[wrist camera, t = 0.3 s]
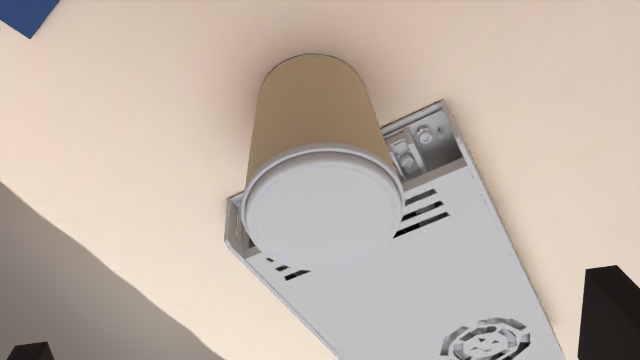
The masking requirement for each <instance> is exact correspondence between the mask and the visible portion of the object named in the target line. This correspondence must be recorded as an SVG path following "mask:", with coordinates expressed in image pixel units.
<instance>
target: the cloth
mask: <svg viewBox="0 0 640 360" xmlns="http://www.w3.org/2000/svg"><path fill="white" fill-rule="evenodd" d="M58 2H59V0H0V20H1V21H3V22H4V23H6V24H7V25H9V26H11V27H12V28H14V29H15V30H17V31H18V32H20V33H21V34H23V35H24V36H26V37H27V38H29V39H31V38H32V36H33V35H34V34H35V32H36V31H37V30H38V28H39V27H40V26H41V24H42V23H43V22H44V20H45V19H46V18H47V16H48V15H49V14H50V12H51V11H52V10H53V8H54V7H55V6H56V4H57V3H58Z"/></svg>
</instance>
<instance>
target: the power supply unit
mask: <svg viewBox="0 0 640 360" xmlns="http://www.w3.org/2000/svg"><path fill="white" fill-rule="evenodd" d="M380 130H381V132H382V135H383V138H384V141H385V144H386V147H387V149H388V152H389V155H390V158H391V161H392V164H393V167H394V170H395V172H396V174H397V175H398V177H399V179H400V182H401V184H402V187H403V190H404V195H405V209H404V214H403V217H402V220H401V222H400V225H399V227H398V230H397V232H396V234H395V235H394V237H393V238H392V240H391V241H390V242H389V243H388V244H387V245H386V246H385V247H384V248H383V249H382V250H381V251H380V252H378V253H377V254H375V255H374V256H373V257H371V258H369V259H367V260H365V261H363V262H361V263H359V264H356V265H353V266H350V267H346V268H342V269H337V270H330V271H307V270H300V269H295V268H291V267H288V266H285V265H282V264H280V263H278V262H276V261H274V260H272V259H270V258H269V257H267V256H266V255H265V254H263V253H262V252H261V251H260V250H259V249H258V248H257V247H256V245H255V244H254V243H253V241H252V240H251V238H250V237H249V235H248V233H247V232H246V230H245V228H244V225H243V222H242V217H241V201H242V196H243V192H242V193H240V194H238V195H236V196H234V197H232V198H229V199H227V210H226V222H225V235H224V242H225V244H226V245H227V247H228V249H229V250H230V251H231V252H232V253H233V254H234V255H235V256H236V257H237V258H238V259H239V260H240V261H241V262H242V263H243V264H244V265H245V266H246V267H247V268H248V269H249V270H250V271H251V272H252V273H253V274H254V275H255V276H256V277H257V278H258V279H259V280H260V281H261V282H262V283H263V284H264V285H265V286H266V287H267V288H268V289H269V290H270V291H271V292H272V293H273V294H274V295H275V296H276V297H277V298H278V299H279V300H280V301H281V302H282V303H283V304H284V305H285V306H286V307H287V308H288V309H289V310H290V311H291V312H292V313H293V314H294V315H295V316H296V317H297V318H298V319H299V320H300V321H301V322H302V323H303V324H304V325H305V326H306V327H307V328H308V329H309V330H310V331H311V332H312V333H313V334H314V335H315V336H316V337H317V338H318V339H319V340H320V341H321V342H322V343H323V344H324V345H325V346H326V347H327V348H328V349H329V350H330V351H331V352H332V353H333V354H334V355H335V356H336V357H337V358H338V359H339V360H566V359H565V356H564V354H563V352H562V349H561V347H560V345H559V342H558V340H557V337H556V335H555V333H554V330H553V328H552V326H551V323H550V321H549V319H548V317H547V315H546V313H545V311H544V308H543V306H542V304H541V302H540V300H539V298H538V296H537V294H536V292H535V289H534V287H533V285H532V283H531V281H530V279H529V277H528V275H527V272H526V270H525V268H524V266H523V264H522V262H521V260H520V258H519V256H518V253H517V251H516V249H515V247H514V245H513V243H512V241H511V239H510V236H509V234H508V232H507V230H506V228H505V226H504V224H503V222H502V220H501V217H500V215H499V213H498V211H497V208H496V206H495V204H494V202H493V200H492V198H491V196H490V194H489V192H488V189H487V187H486V185H485V183H484V181H483V179H482V177H481V175H480V173H479V171H478V168H477V166H476V164H475V162H474V160H473V158H472V156H471V154H470V152H469V150H468V148H467V145H466V143H465V141H464V139H463V137H462V135H461V133H460V131H459V129H458V126H457V124H456V121H455V119H454V117H453V116H452V113H451V111H450V109H449V107H448V106H447V104H446V103H445V101H444V100H442V101H440V102H438V103H435V104H433V105H431V106H429V107H427V108H425V109H422V110H420V111H418V112H416V113H414V114H412V115H409V116H407V117H405V118H403V119H401V120H399V121H396V122H394V123H392V124H390V125H388V126H386V127H383V128H381V129H380ZM238 208H239V209H240V211H238ZM237 211H238V222H237ZM236 229H237V237H236Z"/></svg>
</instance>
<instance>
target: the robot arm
mask: <svg viewBox="0 0 640 360" xmlns="http://www.w3.org/2000/svg"><path fill="white" fill-rule="evenodd" d="M578 359H579V360H640V288H639V287H638V286H637V285H636V284H635V283H634V282H633V281H632V280H631V279H630V278H629V277H628V276H627V275H626V274H625V273H624V272H623V271H622V270H621V269H620V268H619V267H618V266H617V265H614V266H607V267H599V268H592V269H586V273H585V284H584V294H583V305H582V315H581V326H580V336H579V347H578ZM7 360H54V358H53V355H52V353H51V350H50V348H49V345H48V342H41V343H33V344H26V345H18V346H15V347H14V349H13V350H12V352H11V354H10V355H9V357H8V358H7Z"/></svg>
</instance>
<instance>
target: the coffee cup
mask: <svg viewBox="0 0 640 360" xmlns="http://www.w3.org/2000/svg"><path fill="white" fill-rule="evenodd" d="M404 209H405V195H404V190H403V187H402V184H401V182H400V179H399V177H398V175H397V174H396V172H395V170H394V167H393V164H392V161H391V158H390V155H389V152H388V149H387V147H386V144H385V141H384V138H383V135H382V132H381V130H380V127H379V124H378V121H377V119H376V116H375V113H374V111H373V108H372V105H371V102H370V100H369V97H368V94H367V92H366V89H365V87H364V84H363V82H362V80H361V78H360V77H359V75H358V74H357V73H356V72H355V71H354V70H353V69H352V68H351V67H350V66H349V65H347V64H346V63H344V62H343V61H341V60H339V59H337V58H334V57H331V56H327V55H320V54H308V55H301V56H297V57H294V58H291V59H288V60H286V61H284V62H283V63H281V64H279V65H278V66H277V67H275V68H274V69H273V70H272V71H271V72H270V74H269V75H268V76H267V77H266V79H265V80H264V82H263V84H262V86H261V89H260V92H259V97H258V102H257V108H256V114H255V121H254V128H253V135H252V141H251V149H250V156H249V163H248V170H247V179H246V187H245V189H244V192H243V196H242V201H241V217H242V222H243V225H244V228H245V230H246V232H247V233H248V235H249V237H250V238H251V240H252V241H253V243H254V244H255V245H256V247H257V248H258V249H259V250H260V251H261V252H262V253H263V254H265V255H266V256H267V257H269V258H270V259H272V260H274V261H276V262H278V263H280V264H282V265H285V266H288V267H291V268H295V269H300V270H307V271H330V270H337V269H342V268H346V267H350V266H353V265H356V264H359V263H361V262H363V261H365V260H367V259H369V258H371V257H373V256H374V255H375V254H377V253H378V252H380V251H381V250H382V249H383V248H384V247H385V246H386V245H387V244H388V243H389V242H390V241H391V240H392V238H393V237H394V235H395V234H396V232H397V230H398V227H399V225H400V222H401V220H402V217H403V214H404Z"/></svg>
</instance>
